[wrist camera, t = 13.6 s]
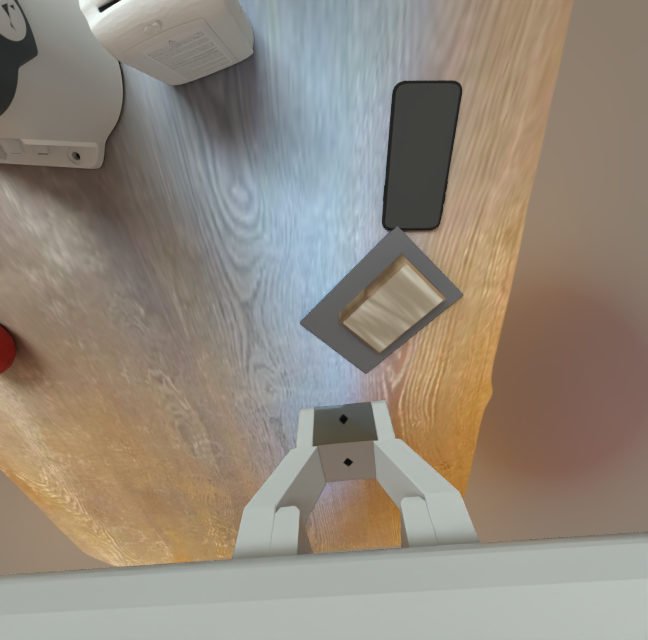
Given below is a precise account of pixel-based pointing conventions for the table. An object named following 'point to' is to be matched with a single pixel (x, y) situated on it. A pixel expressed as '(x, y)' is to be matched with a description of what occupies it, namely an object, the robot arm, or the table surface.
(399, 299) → the wooden block
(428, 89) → the smartphone
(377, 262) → the mat
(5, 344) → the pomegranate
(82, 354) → the table surface
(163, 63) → the photo printer
